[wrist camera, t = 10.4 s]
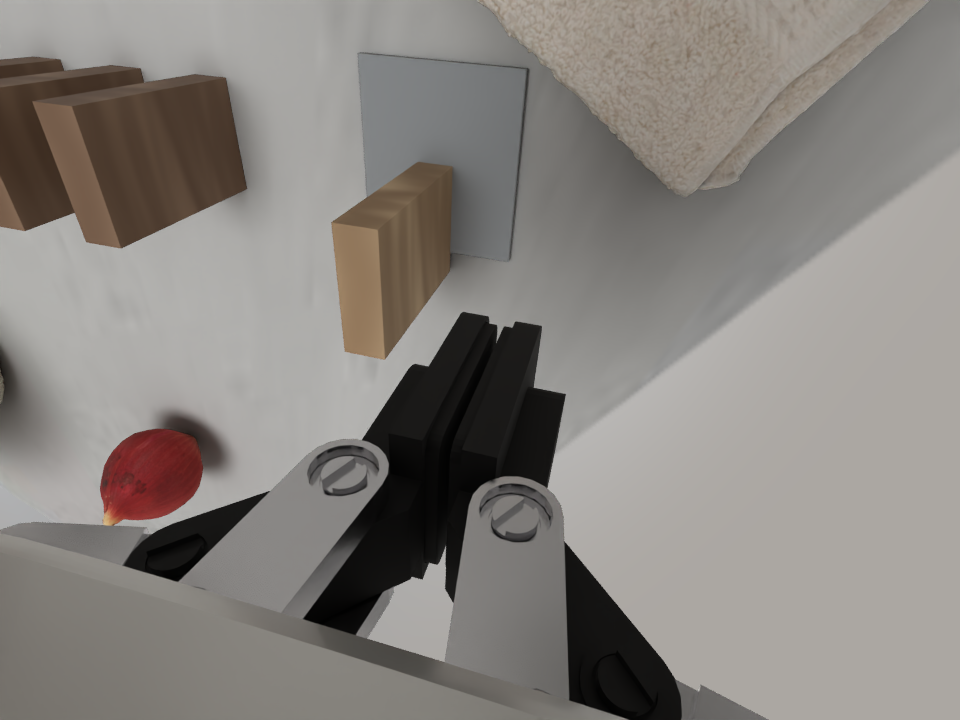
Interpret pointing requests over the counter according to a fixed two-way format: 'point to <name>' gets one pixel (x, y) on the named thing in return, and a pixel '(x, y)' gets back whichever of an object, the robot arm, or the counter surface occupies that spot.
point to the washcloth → (700, 69)
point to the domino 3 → (392, 257)
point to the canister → (1, 387)
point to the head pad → (448, 138)
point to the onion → (150, 475)
